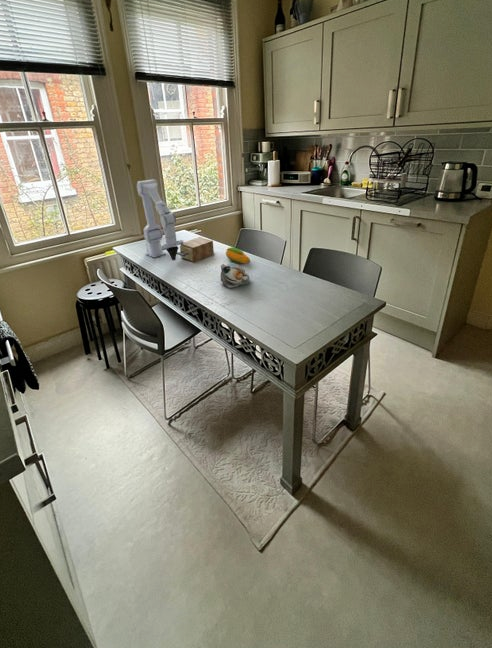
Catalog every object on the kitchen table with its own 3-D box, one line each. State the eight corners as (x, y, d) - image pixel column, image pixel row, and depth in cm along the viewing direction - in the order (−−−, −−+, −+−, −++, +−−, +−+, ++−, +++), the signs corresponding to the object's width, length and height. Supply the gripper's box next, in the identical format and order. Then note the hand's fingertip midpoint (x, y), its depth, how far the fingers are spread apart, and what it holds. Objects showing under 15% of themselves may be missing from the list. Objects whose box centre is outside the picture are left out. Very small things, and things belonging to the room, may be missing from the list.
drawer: (186, 263, 173) (185, 251, 171) (175, 259, 180) (173, 247, 177) (210, 254, 185) (209, 243, 182) (198, 250, 192) (197, 239, 189)
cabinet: (194, 262, 177) (193, 247, 173) (182, 257, 184) (180, 243, 181) (214, 254, 186) (212, 240, 183) (201, 250, 194) (199, 237, 190)
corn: (232, 242, 180) (255, 251, 165) (233, 255, 184) (256, 264, 169) (221, 246, 176) (244, 256, 162) (223, 259, 180) (245, 269, 165)
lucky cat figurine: (254, 279, 152) (256, 261, 141) (242, 298, 146) (243, 280, 135) (227, 267, 157) (227, 248, 145) (214, 284, 150) (213, 266, 139)
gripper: (163, 240, 160) (166, 265, 166) (185, 233, 170) (188, 257, 175) (155, 238, 165) (159, 262, 170) (177, 231, 174) (180, 254, 180)
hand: (173, 259), depth 173 cm, fingers closed
